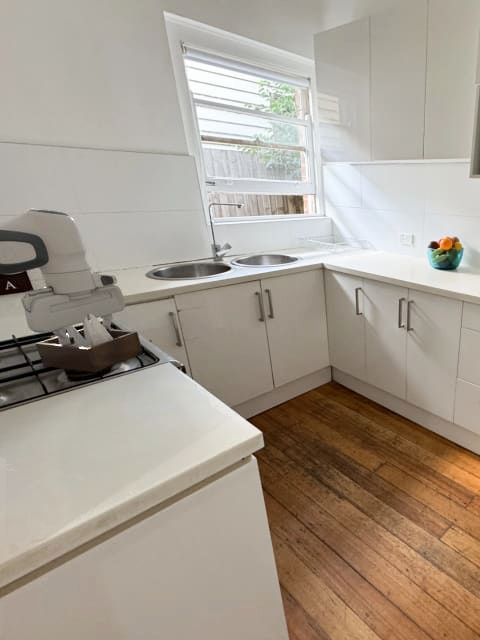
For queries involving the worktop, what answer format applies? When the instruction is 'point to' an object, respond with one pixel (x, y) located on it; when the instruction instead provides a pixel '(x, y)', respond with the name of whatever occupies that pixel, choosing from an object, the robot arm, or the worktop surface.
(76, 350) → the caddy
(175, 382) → the worktop surface
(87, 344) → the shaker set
